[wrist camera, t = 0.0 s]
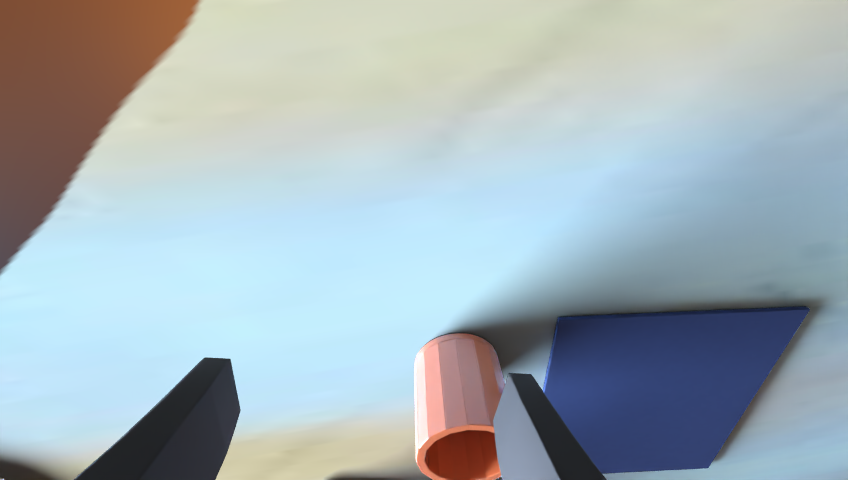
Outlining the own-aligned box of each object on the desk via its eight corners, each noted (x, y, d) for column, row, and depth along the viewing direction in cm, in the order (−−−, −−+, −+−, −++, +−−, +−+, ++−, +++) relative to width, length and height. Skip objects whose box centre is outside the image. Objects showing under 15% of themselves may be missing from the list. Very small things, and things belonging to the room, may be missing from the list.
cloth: (705, 464, 32) (708, 468, 31) (525, 473, 31) (526, 477, 31) (806, 306, 23) (810, 309, 23) (557, 316, 23) (559, 320, 22)
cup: (488, 392, 26) (508, 486, 21) (410, 388, 25) (411, 484, 20) (506, 335, 23) (534, 427, 18) (419, 330, 23) (422, 422, 18)
